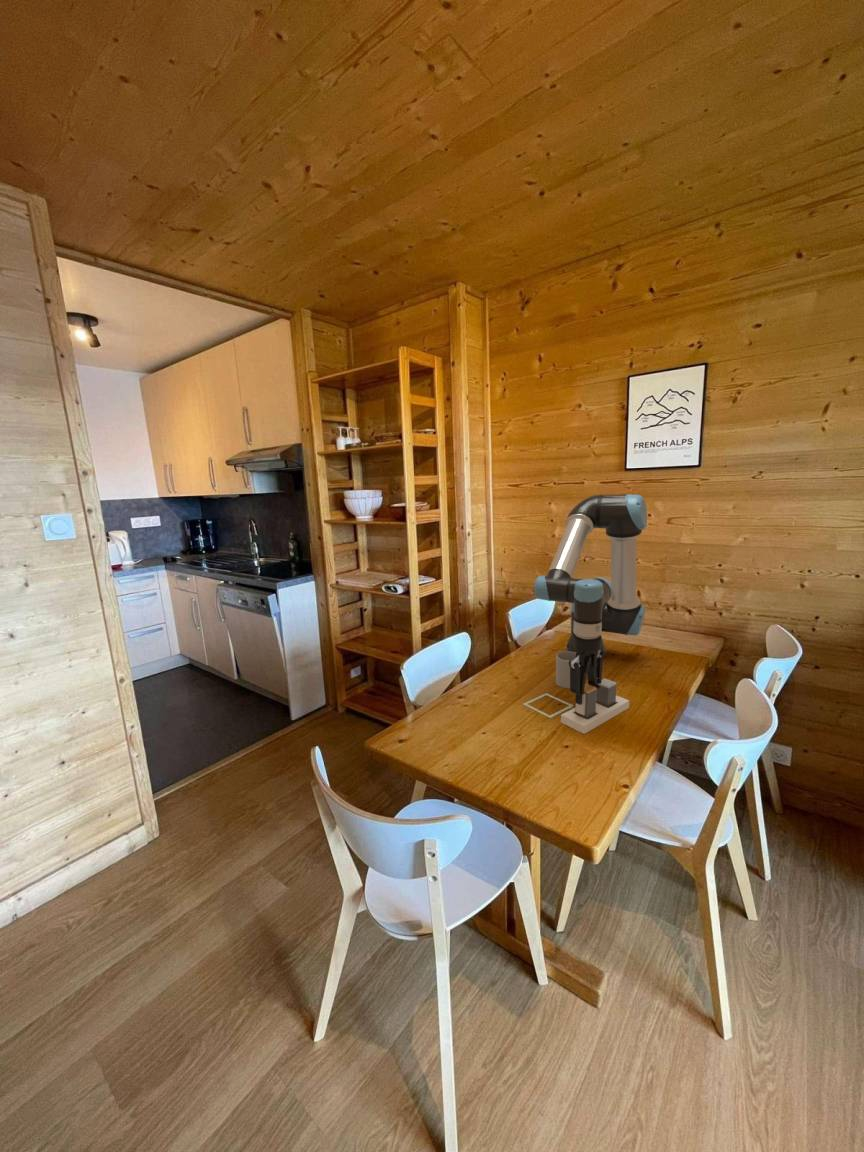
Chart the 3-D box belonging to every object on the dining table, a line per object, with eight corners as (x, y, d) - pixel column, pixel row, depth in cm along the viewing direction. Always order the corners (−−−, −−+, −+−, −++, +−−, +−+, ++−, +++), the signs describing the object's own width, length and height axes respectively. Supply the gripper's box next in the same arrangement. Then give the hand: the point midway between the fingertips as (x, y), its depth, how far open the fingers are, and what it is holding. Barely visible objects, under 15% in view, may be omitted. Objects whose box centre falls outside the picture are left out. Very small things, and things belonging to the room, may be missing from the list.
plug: (575, 715, 135) (575, 686, 133) (583, 710, 137) (584, 682, 135) (586, 720, 132) (587, 691, 130) (595, 715, 134) (596, 687, 132)
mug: (572, 693, 153) (573, 663, 151) (550, 685, 159) (550, 656, 157) (591, 681, 161) (591, 652, 159) (569, 674, 167) (569, 646, 165)
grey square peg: (595, 709, 141) (596, 682, 139) (603, 704, 143) (604, 678, 141) (607, 714, 138) (608, 686, 136) (615, 709, 140) (616, 682, 138)
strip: (560, 725, 135) (561, 714, 134) (605, 701, 147) (605, 691, 146) (583, 737, 128) (584, 726, 128) (628, 710, 141) (629, 700, 140)
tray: (523, 707, 146) (523, 703, 146) (546, 696, 152) (546, 693, 152) (550, 721, 137) (550, 717, 137) (573, 709, 143) (573, 705, 143)
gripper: (579, 646, 121) (577, 726, 126) (617, 630, 131) (614, 705, 136) (556, 638, 127) (556, 715, 132) (594, 624, 137) (592, 696, 142)
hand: (585, 710), depth 134 cm, fingers closed on plug, 4 cm apart
